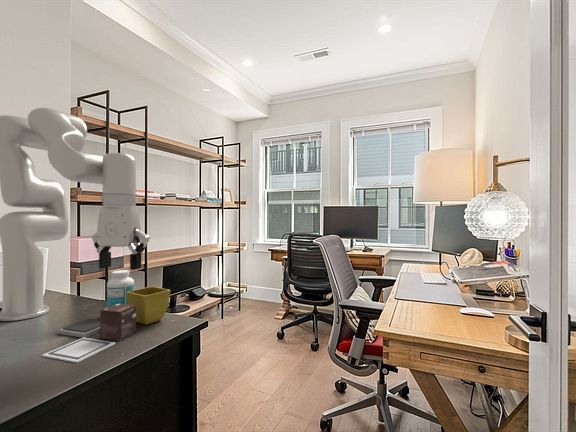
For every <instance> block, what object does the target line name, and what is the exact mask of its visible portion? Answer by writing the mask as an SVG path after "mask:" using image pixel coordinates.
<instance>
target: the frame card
mask: <svg viewBox="0 0 576 432" xmlns="http://www.w3.org/2000/svg"><path fill="white" fill-rule="evenodd" d="M113 345H116V342H115V341H114V342H113V341H108V340H102V339H101V340H100V339H95V338H89V337H86V338H82V337H80V338H79V339H76V340H75V341H72V342H69V343H67V344H65V345H63V346H60V347H58V348H55V349H53V350H51V351H48V352H46V353H43V354H42V355H41V357H44V358H49V359H54V360H61V361H66V362H71V363H79V362H82V361H83V360H86V359H87V358H90V357H92V356H94V355H96V354H97V353H99V352H102V351H104V350H106V349H108V348H110V347H112V346H113Z"/></svg>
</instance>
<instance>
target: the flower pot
mask: <svg viewBox="0 0 576 432" xmlns="http://www.w3.org/2000/svg"><path fill="white" fill-rule="evenodd" d="M126 293H127V301H128V304H129V305H136V323H139V324H143V325H149V324H152V323H154V322H156V323H157V322H159V321H161V320H162V319H163V318H164V317H165V314H166V312H167V310H168V308H169V302H170V296H171V289H167V288H162V287H158V286H152V285H151V286H148V287H142V288H138V289H134V290H132V291H128V292H126Z"/></svg>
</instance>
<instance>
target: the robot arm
mask: <svg viewBox="0 0 576 432" xmlns="http://www.w3.org/2000/svg"><path fill="white" fill-rule="evenodd" d="M87 134H88V128H87V124H86V123H85V121H84V120H83V119H81V118H80V117H79V116H77V115H74V114H70V113H66V112H62V111H60V110H57V109H53V108H48V107H37V108H34V109H32V110H31V111H30V112H29V113H28V115H27V118H25V117H21V116H17V115H9V114H7V115H6V114H3V115H0V193H1V194H0V195H1V198H2V201H3V203H4V204H5V205H7V206H8V207H13V208H24V209H25V208H26V209H27V208H28V209H32V208H33V209H41V210H42V211H35V210H34V211H30V210H29V211H28V210H27V211H26V210H25V211H22V210H21V211H13V212H9V213H5V214H4V215H2V216H1V217H0V244H1V252H2V300H1V301H0V307H1V311H0V321H1V322H13V321H20V320H27V319H33V318H37V317H40V316H42V315H45V314H47V313H48V312H50V306H49V305H46V304H44V256H43V252H42V251H41V250H40V248H39V247H38V245H36V243H37V242H50V241H51V242H52V241H59V240H61V239H64V238H65V237H66V236H67V234H68V231H69V218H68V210H67V201H66V194H65V189H64V188H63V187H62V186H63V185H61V184H60V183H59V182H58V181H55V180H53V179H46V178H38V177H37V175H36V170H35V163H34V161H33V159H32V158H31V156H30V155H29V154H28V153H27V152H26V151H25V150H24V149H23V147H26V148H31V149H37V150H42V151H47V157H48V161H49V164H50V165H51V166H52V168H53V169H54V170H55V171H57V172H58V173H59V175H61V176H62V177H64V178H65V179H66V180H69V181H72V182H76V183H85V184H86V183H87V184H88V183H89V184H96V185H102V199H101V202H102V207H100V209H99V213H98V218H97V228H96V233H94V234H93V235H91V240H92V242H93V246H94V247H95V249H96V253H98V268H99V269H107V268H111V266H112V251H110V250H111V249H112V247H113V248H115V247H117V248H119V247H121V248H124V247H127V248H128V249H129V251H130V252H131V253H130V254H129V270H131V271H135V270H140V269H141V268H142V254H143V253H144V252H145V251H144V250H145V249H146V248H147V247H148V243H149V240H150V236H149V235H148V234H146V233H145V232H143V231H142V229H141V219H140V215H139V208H138V207H137V195H136V194H137V191H136V190H137V187H136V186H137V185H136V181H137V180H136V179H137V178H136V175H137V173H136V164H137V163H136V159H135V157H134V156H133V155H131V154H128V153H121V152H108V153H106V154H104V155H103V156H102V155H100V154H92V153H88V152H87V153H86V152H84V151H83V149H84V148H85V145H86V137H87V136H88V135H87ZM82 151H83V152H82Z"/></svg>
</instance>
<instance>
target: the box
mask: <svg viewBox="0 0 576 432" xmlns="http://www.w3.org/2000/svg"><path fill="white" fill-rule="evenodd" d="M99 317H100V319H99V320H100V332H99V333H100V334H99V339H101V340H102V339H103V340H115V341H121V340H124V339H125V338H127V337H130V336H131V335H134V333H136V332H137V322H136V305H129V304H116V305H113V306H109V307H107V306H106V307H105V308H102V309H100V315H99Z"/></svg>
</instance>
